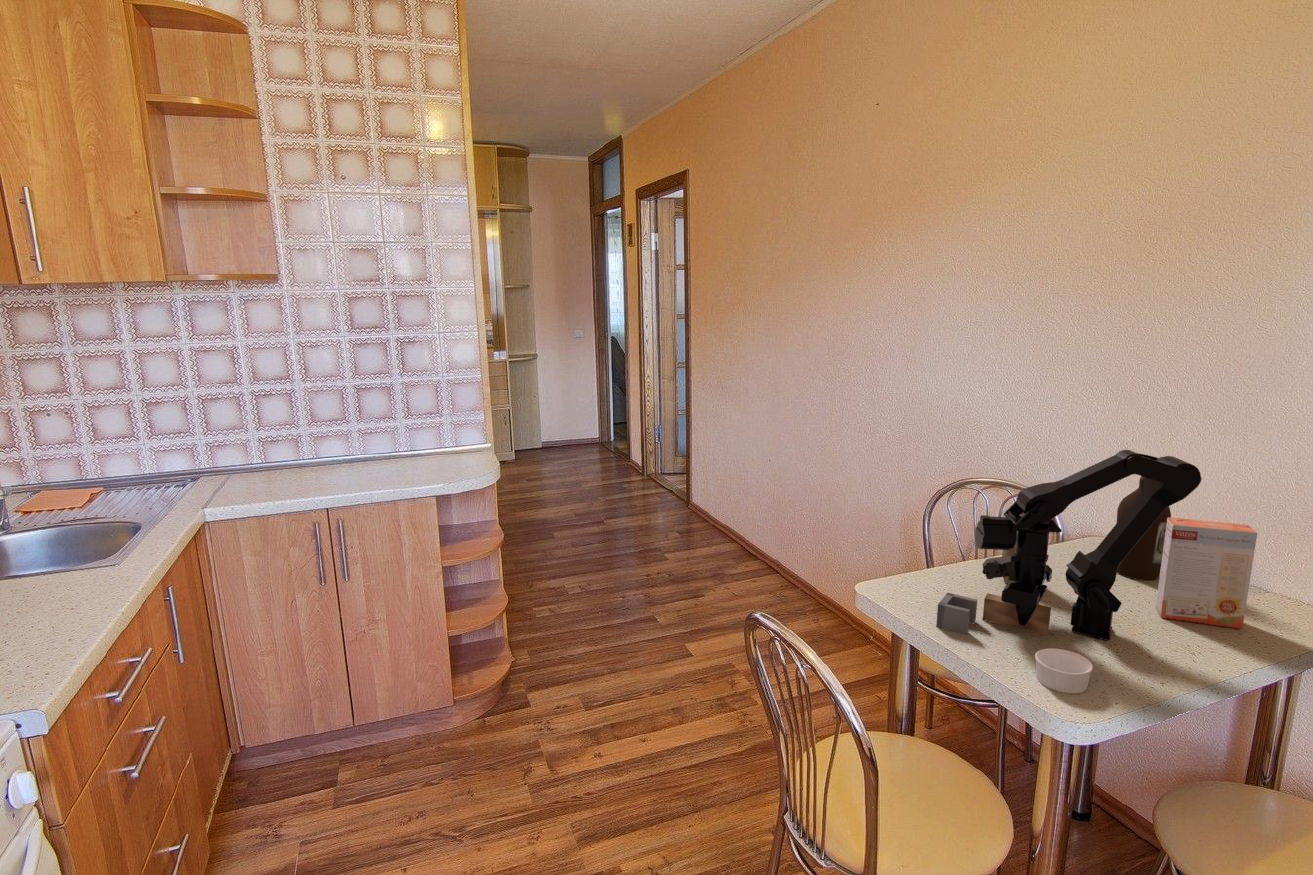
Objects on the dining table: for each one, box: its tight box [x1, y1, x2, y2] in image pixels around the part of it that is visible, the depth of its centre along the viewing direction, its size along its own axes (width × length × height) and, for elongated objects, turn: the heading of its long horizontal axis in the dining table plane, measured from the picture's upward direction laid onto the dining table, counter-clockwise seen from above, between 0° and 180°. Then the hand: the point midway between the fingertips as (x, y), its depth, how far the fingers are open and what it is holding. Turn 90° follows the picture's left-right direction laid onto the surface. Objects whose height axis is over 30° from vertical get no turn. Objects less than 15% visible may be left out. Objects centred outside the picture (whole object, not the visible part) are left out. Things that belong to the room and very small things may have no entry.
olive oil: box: [1116, 476, 1172, 581], centre depth 169 cm, size 11×11×25 cm
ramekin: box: [1034, 647, 1094, 695], centre depth 125 cm, size 9×9×4 cm
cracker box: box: [1155, 517, 1258, 630], centre depth 146 cm, size 14×6×21 cm, turn 65°
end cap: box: [935, 592, 978, 635], centre depth 147 cm, size 6×7×5 cm
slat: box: [982, 592, 1052, 636], centre depth 146 cm, size 12×3×5 cm, turn 54°
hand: (1023, 621), depth 146 cm, fingers closed on slat, 3 cm apart
